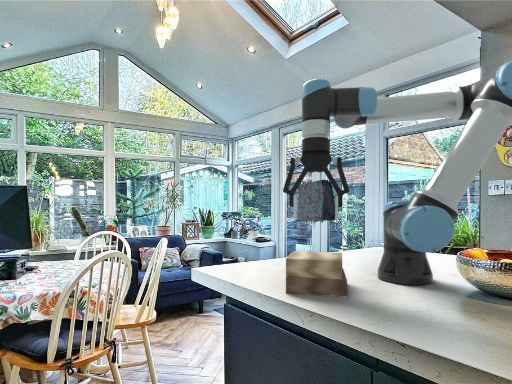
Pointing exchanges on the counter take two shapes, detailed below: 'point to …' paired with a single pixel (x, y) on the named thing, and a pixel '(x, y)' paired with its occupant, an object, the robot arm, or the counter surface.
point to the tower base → (317, 286)
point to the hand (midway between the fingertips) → (315, 219)
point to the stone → (316, 201)
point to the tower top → (314, 265)
